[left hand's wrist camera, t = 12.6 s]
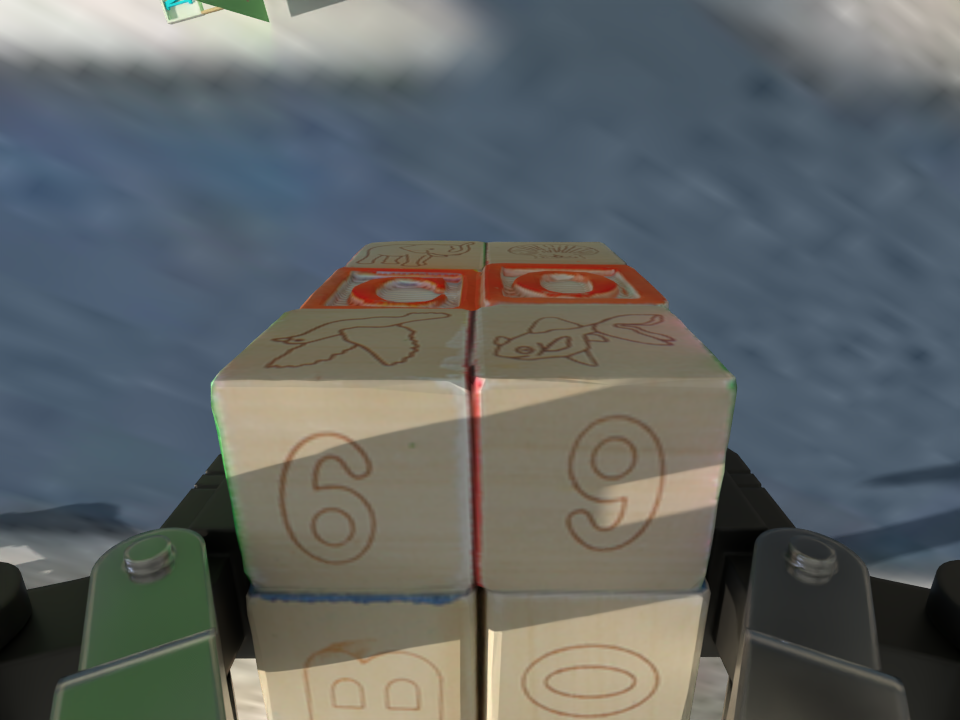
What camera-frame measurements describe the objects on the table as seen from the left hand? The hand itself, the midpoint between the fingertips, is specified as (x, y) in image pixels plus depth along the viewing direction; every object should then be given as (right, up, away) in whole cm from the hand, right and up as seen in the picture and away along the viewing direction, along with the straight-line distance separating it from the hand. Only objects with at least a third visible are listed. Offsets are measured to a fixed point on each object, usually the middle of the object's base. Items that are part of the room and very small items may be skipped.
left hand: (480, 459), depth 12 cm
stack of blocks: (0, -5, +8) cm, 9 cm away
